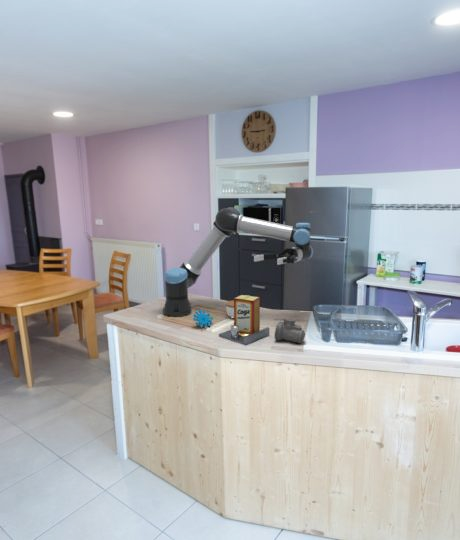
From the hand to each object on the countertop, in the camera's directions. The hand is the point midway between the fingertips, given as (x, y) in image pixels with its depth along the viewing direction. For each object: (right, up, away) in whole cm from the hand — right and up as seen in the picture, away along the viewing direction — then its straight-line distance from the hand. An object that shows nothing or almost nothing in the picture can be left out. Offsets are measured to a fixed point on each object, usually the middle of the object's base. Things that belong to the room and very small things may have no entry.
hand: (265, 260), depth 180 cm
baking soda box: (-9, -32, -6) cm, 34 cm away
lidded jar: (-13, -29, +20) cm, 38 cm away
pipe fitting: (+9, -35, -14) cm, 39 cm away
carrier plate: (-10, -34, -7) cm, 36 cm away
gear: (-29, -32, +7) cm, 44 cm away
